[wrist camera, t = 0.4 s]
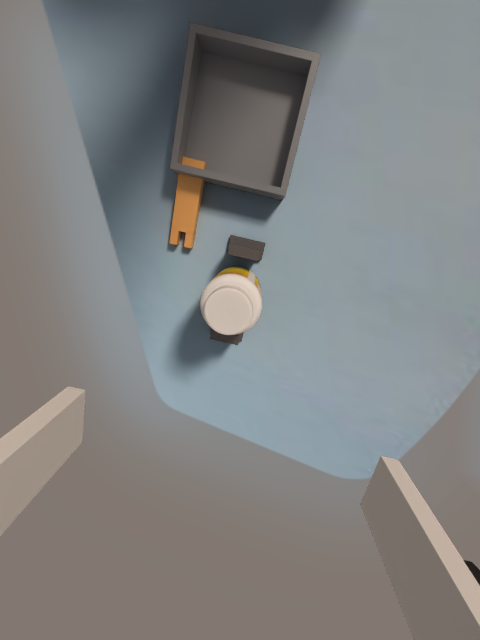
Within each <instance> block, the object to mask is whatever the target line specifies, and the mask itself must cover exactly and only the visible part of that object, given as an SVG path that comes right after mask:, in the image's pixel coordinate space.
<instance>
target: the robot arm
mask: <svg viewBox="0 0 480 640" xmlns="http://www.w3.org/2000/svg"><path fill="white" fill-rule="evenodd" d="M85 393H86V391H85V390H83V389H78V388H74V387H67V388H66V389H65V390H63V391H62V392H60V393H59V394H58V395H56V396H55V397H54V398H53V399H51V400H50V401H49V402H47V403H46V404H45V405H44V406H42V407H41V408H40V409H38V410H37V411H36V412H34V413H33V414H32V415H31V416H29V417H28V418H27V419H25V420H24V421H23V422H21V423H20V424H19V425H18V426H16V427H15V428H14V429H12V430H11V431H10V432H8V433H7V434H6V435H4V436H3V437H2V438H1V439H0V536H1V535H2V534H3V533H4V532H5V530H6V529H7V528H8V527H9V526H10V525H11V523H12V522H13V521H14V520H15V519H16V518H17V517H18V515H19V514H20V513H21V512H22V511H23V510H24V509H25V507H26V506H27V505H28V504H29V503H30V502H31V500H32V499H33V498H34V497H35V496H36V495H37V494H38V492H39V491H40V490H41V489H42V488H43V487H44V486H45V484H46V483H47V482H48V481H49V480H50V479H51V477H52V476H53V475H54V474H55V473H56V472H57V471H58V469H59V468H60V467H61V466H62V465H63V464H64V462H65V461H66V460H67V459H68V458H69V457H70V455H71V454H72V453H73V452H74V451H75V450H76V449H77V447H78V446H79V445H80V444H81V443H82V435H83V421H84V407H85ZM360 505H361V508H362V510H363V513H364V515H365V518H366V520H367V523H368V525H369V528H370V530H371V533H372V536H373V538H374V541H375V543H376V545H377V548H378V551H379V553H380V556H381V558H382V561H383V563H384V566H385V568H386V571H387V574H388V576H389V579H390V581H391V583H392V586H393V589H394V591H395V594H396V596H397V599H398V601H399V604H400V607H401V609H402V611H403V614H404V617H405V619H406V622H407V624H408V627H409V629H410V632H411V634H412V637H413V639H414V640H480V570H479V569H478V568H477V567H476V566H475V565H474V564H473V563H472V562H470V561H465V560H463V559H462V558H461V556H460V554H459V553H458V551H457V550H456V548H455V547H454V545H453V544H452V543H451V541H450V539H449V538H448V536H447V534H446V533H445V531H444V530H443V528H442V527H441V525H440V524H439V522H438V521H437V519H436V517H435V516H434V514H433V513H432V511H431V510H430V508H429V507H428V505H427V504H426V502H425V501H424V499H423V498H422V496H421V494H420V493H419V491H418V490H417V488H416V487H415V485H414V484H413V482H412V481H411V479H410V478H409V476H408V474H407V473H406V471H405V470H404V468H403V467H402V465H401V464H400V462H399V460H396V459H392V458H388V457H383V456H381V457H380V459H379V462H378V464H377V466H376V469H375V471H374V473H373V476H372V478H371V480H370V482H369V485H368V487H367V490H366V492H365V494H364V496H363V499H362V501H361V503H360Z"/></svg>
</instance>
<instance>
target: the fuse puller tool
mask: <svg viewBox="0 0 480 640" xmlns="http://www.w3.org/2000/svg"><path fill="white" fill-rule="evenodd" d="M182 164H183V165H188V166H192V167H196V168H200V169H204V170H205V168H206V162H204V161H199V160H195V159H191V158H187V157H183V160H182ZM203 187H204V181H203V179H200V178H196V177H191V176H187V175H183V174H179V175H178V183H177V190H176V198H175V205H174V213H173V220H172V228H171V235H170V244H174V245H179V241H180V235H181V232H185V233H186V236H185V243H184V247H187V248H193V245H194V239H195V233H196V227H197V222H198V216H199V210H200V204H201V199H202V193H203Z"/></svg>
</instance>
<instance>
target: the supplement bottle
mask: <svg viewBox="0 0 480 640" xmlns="http://www.w3.org/2000/svg"><path fill="white" fill-rule="evenodd" d="M200 309H201V313H202V316H203V318H204V320H205V321H206V323H207V324H208V325H209V326H210V327H211V328H212V329H213V330H214V331H216V332H218V333H220V334H223V335H236V334H241V333H243V332H245V331H247V330H249V329H250V328H252V327H253V326H254V325H255V323H256V322H257V321H258V319H259V317H260V314H261V310H262V296H261V287H260V283H259V281H258V279H257V277H256V276H255V275H254V273H252V272H251V271H250V270H248V269H246V268H244V267H239V266H232V267H228V268H226V269H224V270H222V271H221V272H220V273H218V274H217V275H216V276H215V277H214V278H213V279H212V280H211V281H210V282H209V283H208V284H207V285H206V287H205V288H204V290H203V292H202V295H201V299H200Z"/></svg>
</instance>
